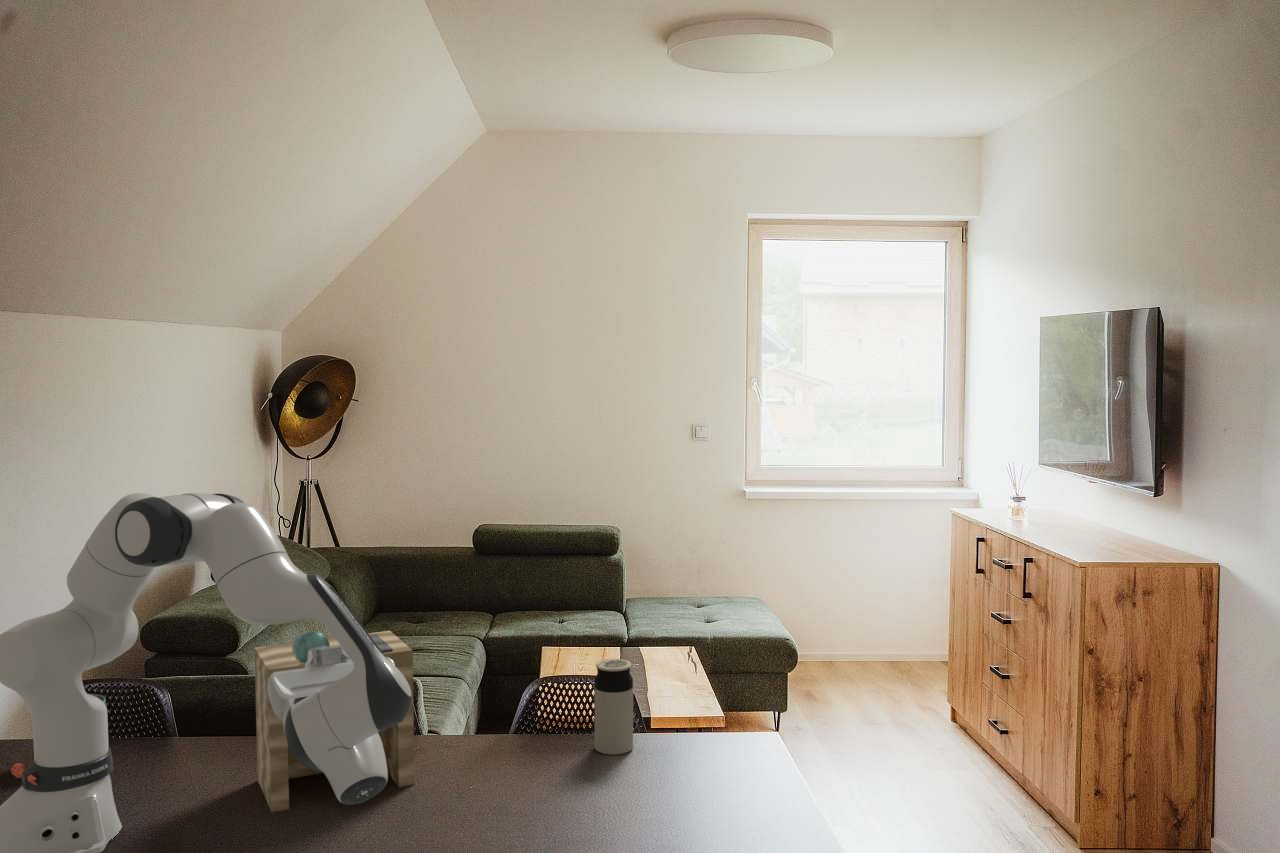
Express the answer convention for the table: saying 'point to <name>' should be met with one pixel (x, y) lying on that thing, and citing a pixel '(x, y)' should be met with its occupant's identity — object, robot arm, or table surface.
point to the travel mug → (613, 707)
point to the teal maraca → (318, 643)
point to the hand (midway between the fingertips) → (325, 651)
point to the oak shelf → (271, 738)
